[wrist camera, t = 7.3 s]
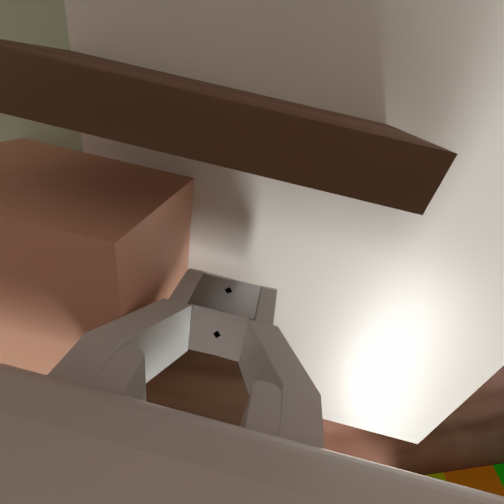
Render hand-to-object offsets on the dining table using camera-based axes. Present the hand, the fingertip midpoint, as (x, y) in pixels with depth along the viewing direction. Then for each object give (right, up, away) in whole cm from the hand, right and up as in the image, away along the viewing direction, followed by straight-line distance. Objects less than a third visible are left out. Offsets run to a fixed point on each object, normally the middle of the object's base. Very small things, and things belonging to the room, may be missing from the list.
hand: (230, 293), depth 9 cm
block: (-5, +2, +2) cm, 5 cm away
